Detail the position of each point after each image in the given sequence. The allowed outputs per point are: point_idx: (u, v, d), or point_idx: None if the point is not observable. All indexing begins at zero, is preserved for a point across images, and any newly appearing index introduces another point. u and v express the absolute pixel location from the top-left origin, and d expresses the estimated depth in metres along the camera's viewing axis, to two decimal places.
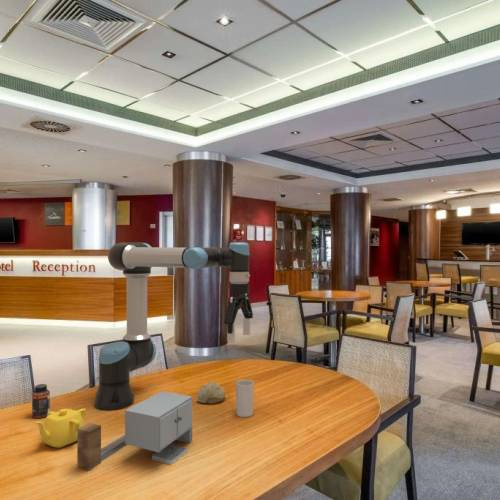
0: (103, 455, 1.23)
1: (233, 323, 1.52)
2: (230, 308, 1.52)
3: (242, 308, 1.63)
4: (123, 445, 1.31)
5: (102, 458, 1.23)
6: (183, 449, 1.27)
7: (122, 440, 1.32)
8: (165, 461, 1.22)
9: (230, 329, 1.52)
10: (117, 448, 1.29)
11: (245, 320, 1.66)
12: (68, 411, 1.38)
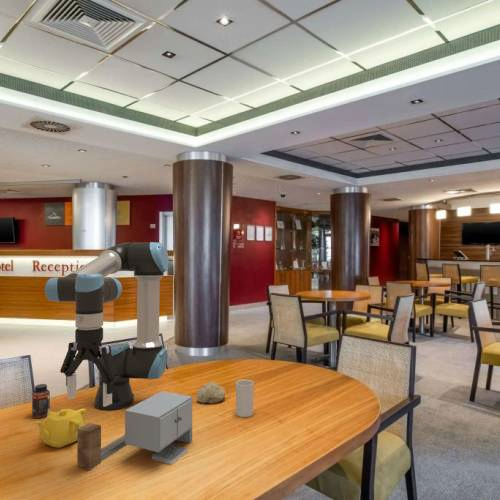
0: (103, 455, 1.23)
1: (66, 374, 1.22)
2: None
3: None
4: (123, 445, 1.31)
5: (102, 458, 1.23)
6: (183, 449, 1.27)
7: (122, 440, 1.32)
8: (165, 461, 1.22)
9: None
10: (117, 448, 1.29)
11: None
12: (68, 411, 1.38)
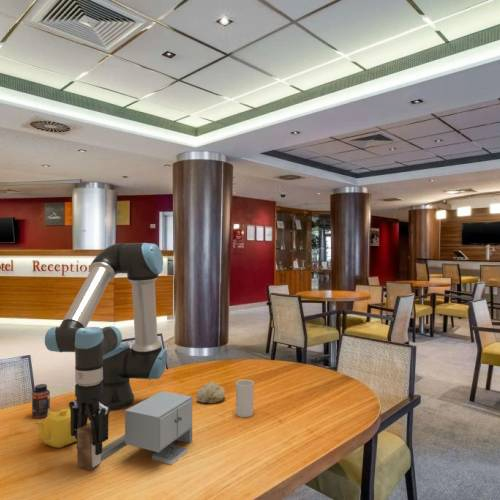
0: (103, 455, 1.23)
1: (76, 438, 1.20)
2: None
3: None
4: (123, 445, 1.31)
5: (102, 458, 1.23)
6: (183, 449, 1.27)
7: (122, 440, 1.32)
8: (165, 461, 1.22)
9: None
10: (117, 448, 1.29)
11: None
12: (68, 411, 1.38)
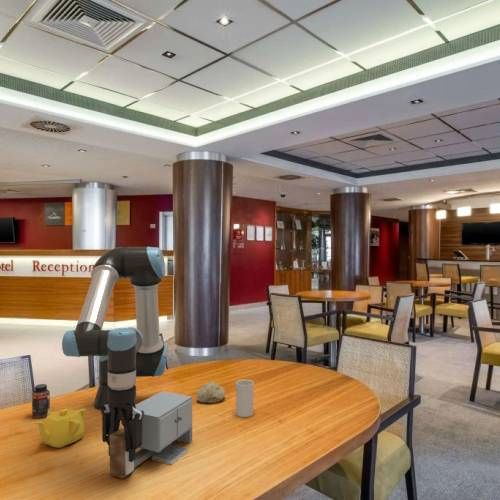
0: (135, 462, 1.18)
1: (108, 444, 1.15)
2: None
3: None
4: (154, 451, 1.26)
5: (134, 465, 1.18)
6: (183, 449, 1.27)
7: None
8: (165, 461, 1.22)
9: (109, 450, 1.17)
10: (149, 454, 1.24)
11: None
12: (68, 411, 1.38)
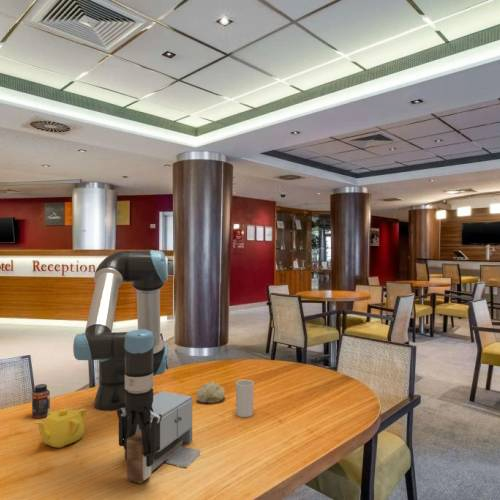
0: (152, 466, 1.16)
1: (125, 448, 1.13)
2: None
3: None
4: None
5: (151, 469, 1.16)
6: (196, 451, 1.26)
7: (168, 449, 1.25)
8: (179, 463, 1.20)
9: None
10: (164, 458, 1.22)
11: None
12: (68, 411, 1.38)
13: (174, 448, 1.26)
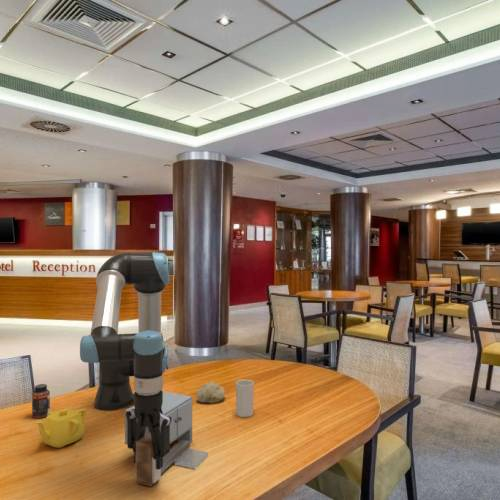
0: (161, 468, 1.15)
1: (134, 450, 1.12)
2: None
3: None
4: (178, 455, 1.23)
5: None
6: (204, 453, 1.25)
7: (176, 450, 1.24)
8: (188, 466, 1.19)
9: None
10: (173, 459, 1.21)
11: None
12: (68, 411, 1.38)
13: (182, 449, 1.25)
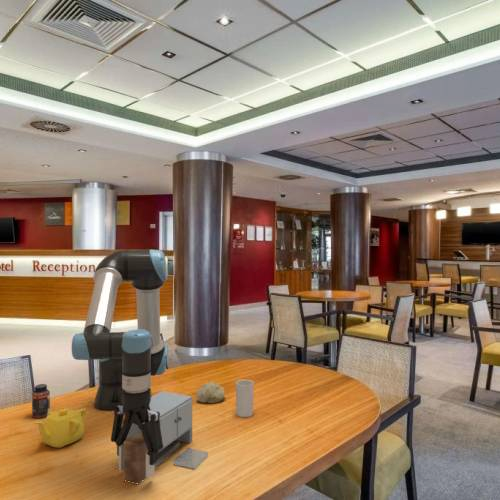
0: None
1: (117, 444, 1.14)
2: None
3: None
4: (167, 456, 1.25)
5: None
6: (204, 453, 1.25)
7: (166, 450, 1.25)
8: (188, 466, 1.19)
9: None
10: (162, 459, 1.22)
11: None
12: (68, 411, 1.38)
13: (171, 450, 1.27)
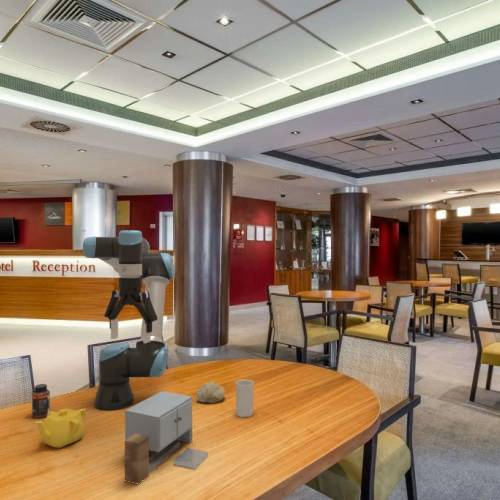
0: (150, 467, 1.17)
1: (109, 318, 1.41)
2: None
3: None
4: (167, 456, 1.25)
5: (149, 470, 1.16)
6: (204, 453, 1.25)
7: (166, 450, 1.25)
8: (188, 465, 1.19)
9: (110, 324, 1.42)
10: (162, 459, 1.22)
11: None
12: (68, 411, 1.38)
13: (171, 450, 1.27)
